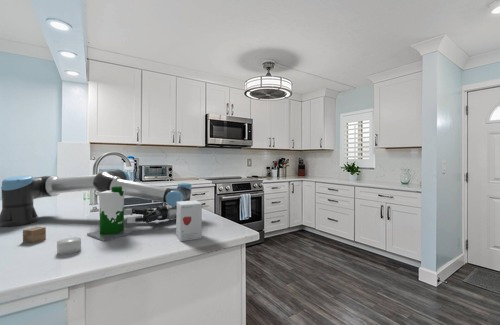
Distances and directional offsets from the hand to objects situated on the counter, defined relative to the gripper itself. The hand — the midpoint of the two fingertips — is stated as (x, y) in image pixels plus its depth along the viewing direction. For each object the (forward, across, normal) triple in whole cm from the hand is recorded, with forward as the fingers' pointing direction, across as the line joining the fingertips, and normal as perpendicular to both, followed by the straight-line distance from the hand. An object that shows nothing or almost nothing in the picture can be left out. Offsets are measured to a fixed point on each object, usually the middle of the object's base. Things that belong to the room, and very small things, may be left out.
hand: (122, 216), depth 115 cm
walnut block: (+30, +7, -9) cm, 32 cm away
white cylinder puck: (+22, -16, -7) cm, 28 cm away
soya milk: (+5, -4, -6) cm, 9 cm away
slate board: (+5, -4, -6) cm, 9 cm away
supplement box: (-17, -31, -3) cm, 36 cm away
